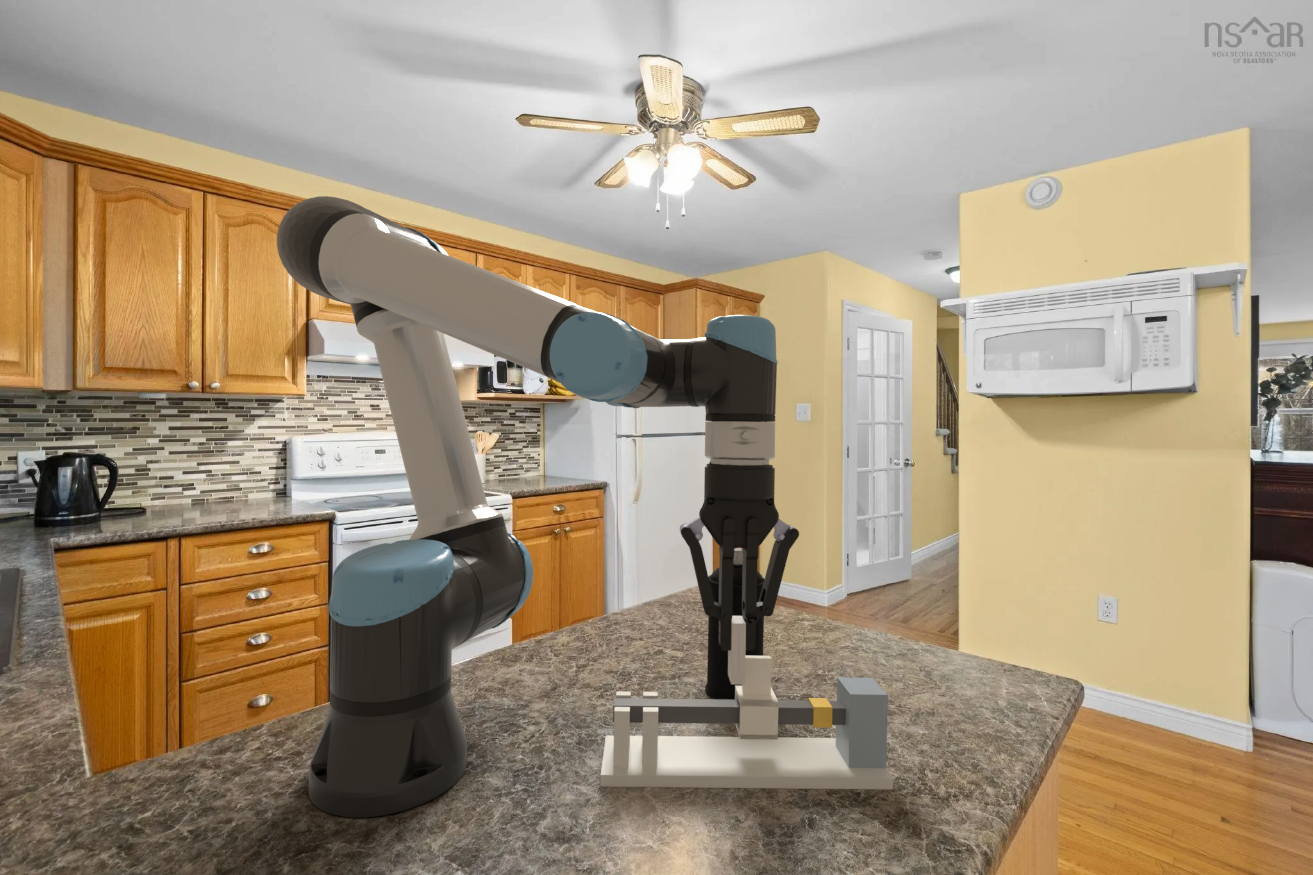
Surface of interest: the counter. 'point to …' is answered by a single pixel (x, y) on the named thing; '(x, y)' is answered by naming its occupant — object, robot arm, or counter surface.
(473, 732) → the counter surface
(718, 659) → the aerosol can
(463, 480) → the robot arm
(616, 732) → the grey rod on board
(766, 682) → the sleeve
